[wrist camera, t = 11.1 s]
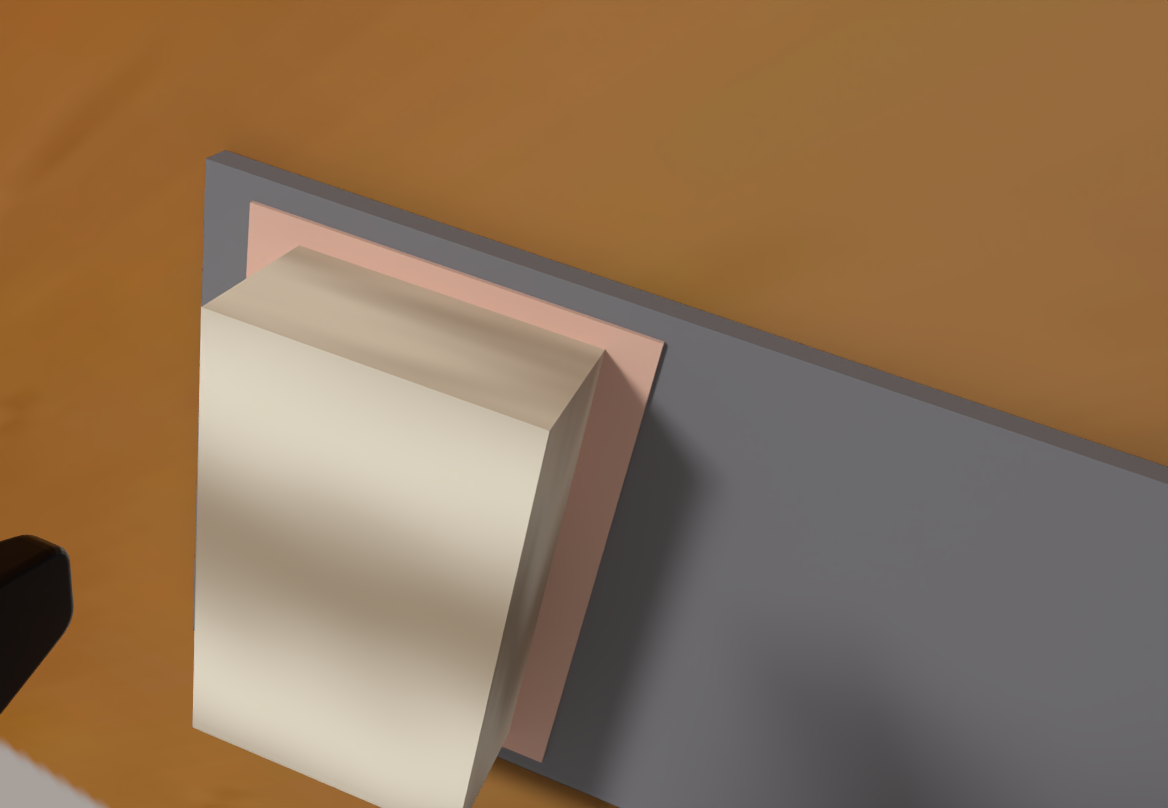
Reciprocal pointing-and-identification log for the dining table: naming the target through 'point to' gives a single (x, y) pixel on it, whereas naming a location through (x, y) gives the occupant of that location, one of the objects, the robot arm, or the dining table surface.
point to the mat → (790, 554)
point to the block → (375, 523)
